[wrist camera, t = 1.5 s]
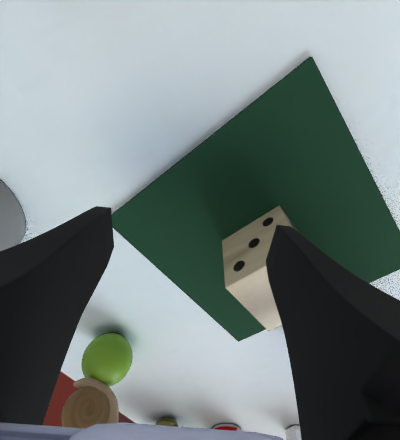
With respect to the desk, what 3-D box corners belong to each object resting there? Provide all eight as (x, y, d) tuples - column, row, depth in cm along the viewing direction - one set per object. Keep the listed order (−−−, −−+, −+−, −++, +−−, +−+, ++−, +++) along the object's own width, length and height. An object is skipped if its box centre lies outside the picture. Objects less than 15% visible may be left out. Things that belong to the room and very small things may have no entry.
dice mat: (412, 259, 25) (415, 262, 25) (238, 338, 32) (238, 341, 31) (310, 56, 17) (312, 56, 17) (106, 218, 24) (105, 220, 23)
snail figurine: (128, 359, 34) (93, 485, 24) (84, 338, 32) (26, 464, 22) (152, 341, 32) (125, 470, 22) (107, 316, 30) (54, 445, 20)
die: (312, 250, 24) (340, 300, 19) (256, 279, 26) (268, 332, 21) (279, 204, 22) (301, 246, 17) (221, 240, 24) (224, 287, 19)
